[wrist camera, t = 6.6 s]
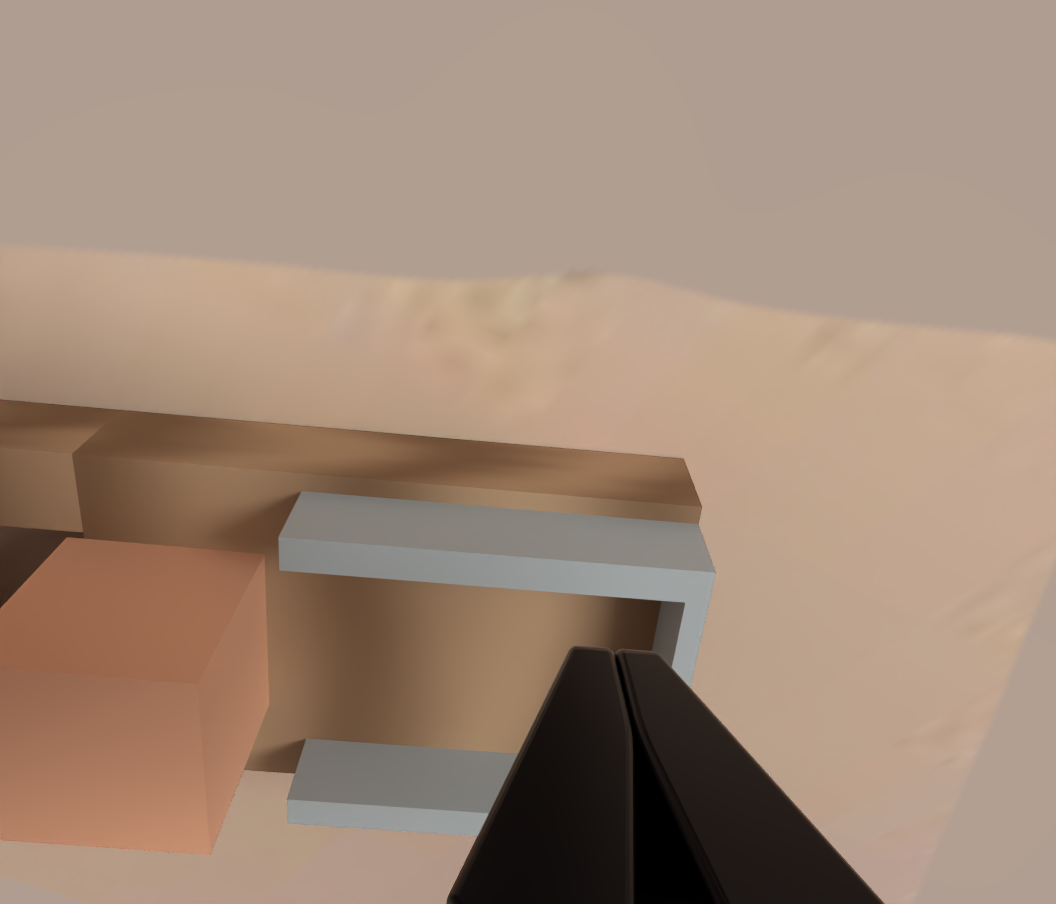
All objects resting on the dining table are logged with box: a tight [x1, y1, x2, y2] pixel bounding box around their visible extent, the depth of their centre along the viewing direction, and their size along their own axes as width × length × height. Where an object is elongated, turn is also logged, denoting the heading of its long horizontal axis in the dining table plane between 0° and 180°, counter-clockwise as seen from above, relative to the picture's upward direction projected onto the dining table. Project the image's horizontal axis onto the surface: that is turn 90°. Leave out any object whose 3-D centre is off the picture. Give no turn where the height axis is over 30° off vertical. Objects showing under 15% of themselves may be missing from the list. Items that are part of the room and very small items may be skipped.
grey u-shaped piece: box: [278, 491, 716, 836], centre depth 20 cm, size 9×8×2 cm
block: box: [0, 537, 269, 855], centre depth 19 cm, size 4×4×4 cm
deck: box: [0, 400, 702, 773], centre depth 22 cm, size 20×9×2 cm, turn 85°
